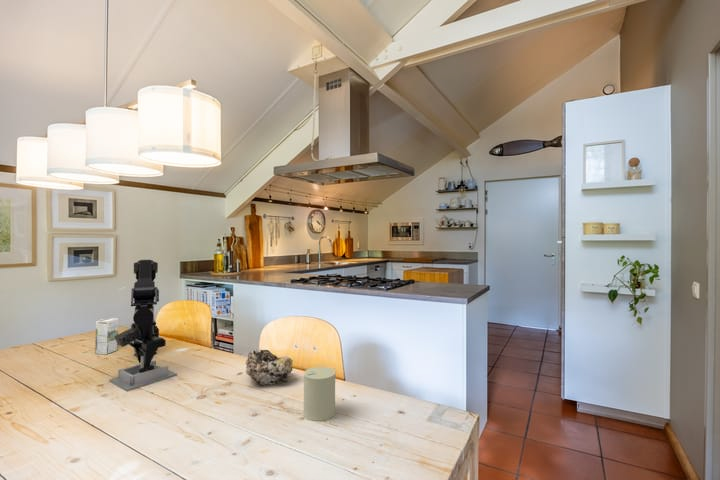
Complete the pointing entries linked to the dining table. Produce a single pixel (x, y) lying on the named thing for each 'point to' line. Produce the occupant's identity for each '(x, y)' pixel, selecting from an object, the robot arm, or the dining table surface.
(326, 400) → the can
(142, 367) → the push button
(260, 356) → the mineral specimen
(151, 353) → the robot arm
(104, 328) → the syrup box
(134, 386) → the dock
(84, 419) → the dining table surface
